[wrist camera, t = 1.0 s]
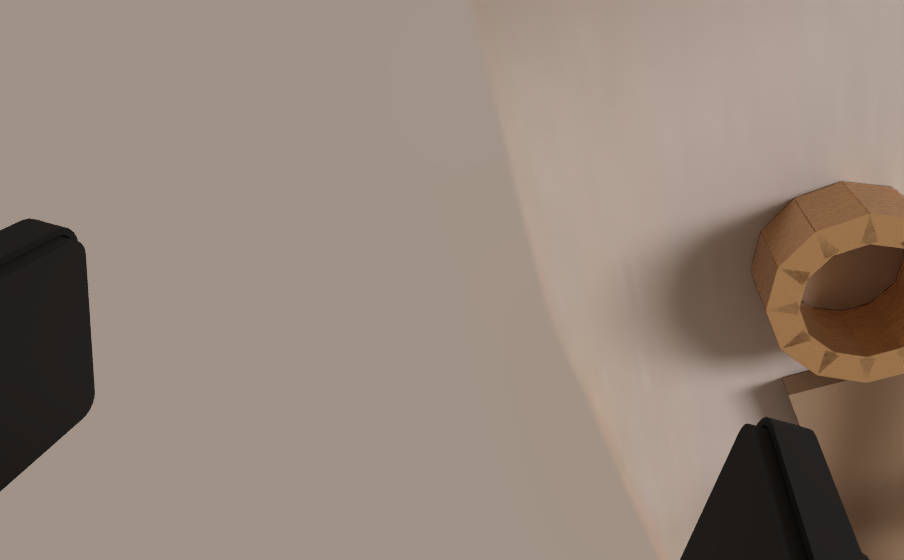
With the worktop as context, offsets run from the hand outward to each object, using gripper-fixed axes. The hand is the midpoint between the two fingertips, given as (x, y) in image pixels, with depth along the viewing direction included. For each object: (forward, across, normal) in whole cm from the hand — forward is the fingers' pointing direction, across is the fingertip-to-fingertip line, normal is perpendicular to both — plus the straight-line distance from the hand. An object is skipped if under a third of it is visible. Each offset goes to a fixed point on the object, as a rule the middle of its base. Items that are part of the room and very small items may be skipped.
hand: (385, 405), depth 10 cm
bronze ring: (+24, -14, +4) cm, 28 cm away
